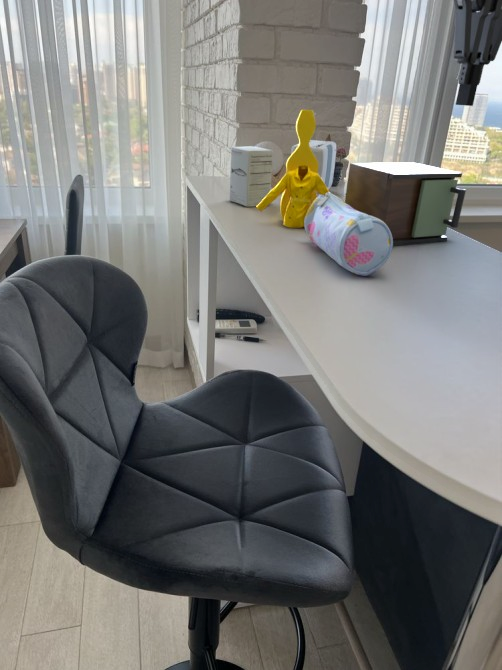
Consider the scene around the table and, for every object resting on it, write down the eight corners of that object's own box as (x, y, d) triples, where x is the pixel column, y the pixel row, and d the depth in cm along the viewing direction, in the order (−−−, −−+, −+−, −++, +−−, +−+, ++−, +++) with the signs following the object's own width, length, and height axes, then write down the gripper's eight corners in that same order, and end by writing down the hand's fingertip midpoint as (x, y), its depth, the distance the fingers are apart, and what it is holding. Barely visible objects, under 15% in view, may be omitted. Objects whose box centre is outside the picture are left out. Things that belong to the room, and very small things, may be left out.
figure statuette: (255, 226, 102) (261, 108, 93) (255, 217, 109) (261, 106, 100) (342, 231, 102) (358, 113, 93) (337, 222, 109) (351, 111, 100)
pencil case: (300, 241, 94) (305, 189, 90) (344, 241, 96) (351, 190, 92) (337, 280, 76) (345, 217, 72) (391, 279, 78) (402, 217, 73)
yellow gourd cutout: (318, 204, 125) (327, 117, 116) (286, 200, 127) (293, 114, 118) (332, 191, 143) (341, 114, 134) (304, 188, 145) (311, 112, 136)
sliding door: (457, 239, 97) (470, 182, 92) (425, 242, 94) (437, 183, 89) (442, 233, 100) (455, 178, 95) (411, 236, 97) (422, 179, 92)
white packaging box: (228, 201, 123) (230, 146, 118) (252, 198, 127) (255, 145, 122) (246, 207, 118) (248, 150, 113) (270, 204, 122) (274, 149, 117)
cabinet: (446, 241, 100) (462, 173, 94) (381, 246, 94) (393, 174, 88) (402, 224, 111) (413, 162, 105) (341, 228, 105) (349, 163, 99)
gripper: (508, -46, 87) (474, 105, 97) (451, -58, 82) (421, 102, 92) (547, -54, 81) (506, 107, 91) (488, -68, 75) (452, 105, 86)
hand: (464, 105), depth 91 cm, fingers closed
